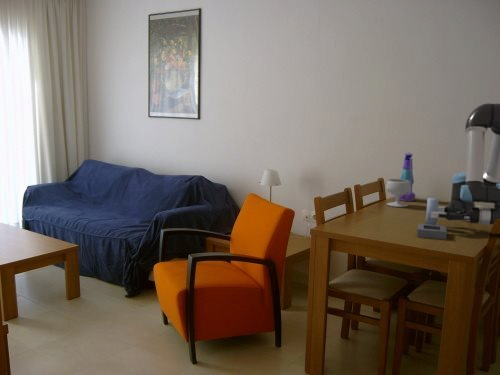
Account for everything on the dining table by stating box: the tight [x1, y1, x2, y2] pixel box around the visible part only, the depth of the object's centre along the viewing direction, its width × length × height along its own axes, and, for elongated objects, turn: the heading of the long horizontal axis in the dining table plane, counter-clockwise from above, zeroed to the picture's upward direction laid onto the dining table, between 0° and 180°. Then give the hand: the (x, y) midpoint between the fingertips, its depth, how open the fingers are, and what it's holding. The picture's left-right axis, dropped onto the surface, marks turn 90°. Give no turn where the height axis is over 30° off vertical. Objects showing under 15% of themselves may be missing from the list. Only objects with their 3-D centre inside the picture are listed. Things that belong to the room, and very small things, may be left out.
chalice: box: [385, 178, 411, 208], centre depth 280 cm, size 14×14×15 cm
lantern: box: [399, 152, 416, 202], centre depth 297 cm, size 13×12×30 cm
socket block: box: [416, 222, 448, 241], centre depth 215 cm, size 12×12×4 cm
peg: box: [425, 197, 439, 225], centre depth 228 cm, size 5×5×14 cm
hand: (430, 211), depth 227 cm, fingers open, 13 cm apart
